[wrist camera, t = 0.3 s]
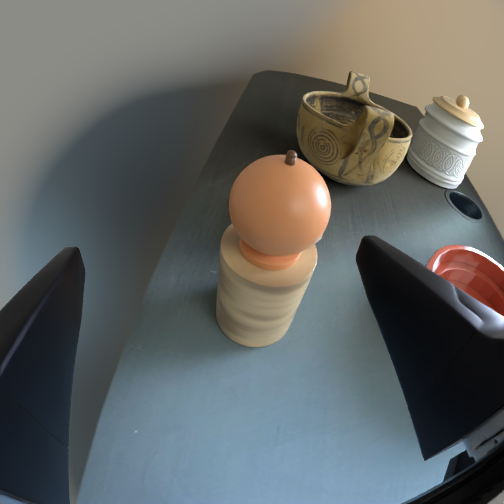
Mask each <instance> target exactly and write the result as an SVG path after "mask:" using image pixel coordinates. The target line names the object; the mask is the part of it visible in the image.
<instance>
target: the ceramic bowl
mask: <svg viewBox="0 0 504 504" xmlns="http://www.w3.org/2000/svg"><path fill="white" fill-rule="evenodd" d="M369 80H370V78H369V76H366V75H363V74H360V73H357V72H353V71H350V73H349V76H348V80H347V86H346V90H345V91H344V92H342V93H336V92H329V91H313V92H309V93H307V94H305V95H304V96H303V100H302V102H301V105H300V108H299V112H298V116H297V138H298V143H299V146H300V149H301V151H302V153H303V154H304V156H305V157H306V159H307V160H308V161H309V162H310V163H311V165H312V166H313V167H314V168H316V169H317V170H318V171H319V172H321V173H322V174H324V175H325V176H327V177H329V178H330V179H333V180H335V181H337V182H340V183H343V184H347V185H352V186H369V185H374V184H377V183H380V182H381V181H383V180H385V179H387V178H388V177H389V176H390V175H392V174H393V173H394V172H395V170H396V169H397V168H398V167H399V165H400V164H401V162H402V161H403V159H404V157H405V155H406V153H407V150H408V147H409V144H410V140H411V137H412V131H411V129H410V127H409V126H408V125H407V124H406V122H404V121H403V120H402V119H401V118H399V117H398V116H397V115H395V114H394V113H392V112H390V111H389V110H387V109H385V108H383V107H381V106H379V105H377V104H374V103H373V102H372V101H371V100H370V99H369V96H368V89H369Z"/></svg>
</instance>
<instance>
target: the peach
mask: <svg viewBox="0 0 504 504" xmlns="http://www.w3.org/2000/svg"><path fill="white" fill-rule="evenodd" d="M330 211H331V200H330V194H329V191H328V188H327V185H326V183H325V181H324V180H323V178H322V176H321V175H320V174H319V173H318V172H317V171H316V169H315V168H313V167H312V166H311V165H310V164H308V163H307V162H305V161H303V160H301V159H299V158H297V153H296V152H295V151H293V150H289V151H288V152H287V154H286V155H271V156H266V157H263V158H260V159H258V160H256V161H254V162H253V163H251V164H250V165H248V166H247V167H246V168H245V169H244V170H243V171H242V172H241V173H240V174H239V176H238V177H237V179H236V180H235V182H234V184H233V187H232V189H231V193H230V197H229V213H230V218H231V221H232V224H233V227H234V228H235V230H236V232H237V234H238V235H239V236H240V241H239V247H240V250H241V253H242V255H243V256H244V257H245V258H246V259H247V260H248V261H249V262H250V263H251V264H253V265H255V266H257V267H259V268H262V269H265V270H273V271H275V270H283V269H286V268H289V267H291V266H292V265H294V264H295V263H296V262H297V261H298V259H299V257H300V254H301V252H302V251H304V250H306V249H307V248H309V247H310V246H312V245H313V244H314V243H315V242H316V241H317V240H318V239H319V238H320V237H321V235H322V234H323V232H324V230H325V229H326V226H327V224H328V221H329V218H330Z"/></svg>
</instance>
